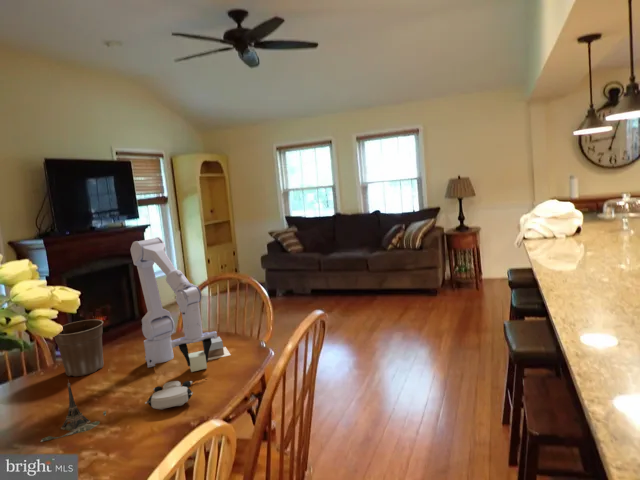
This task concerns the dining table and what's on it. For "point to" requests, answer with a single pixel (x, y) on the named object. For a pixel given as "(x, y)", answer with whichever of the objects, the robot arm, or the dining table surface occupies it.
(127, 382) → the dining table surface
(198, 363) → the sage block
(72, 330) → the plant pot
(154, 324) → the robot arm
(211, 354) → the walnut slab
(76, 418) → the eiffel tower figurine
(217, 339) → the light grey flat block
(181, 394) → the robot toy
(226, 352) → the cream board
